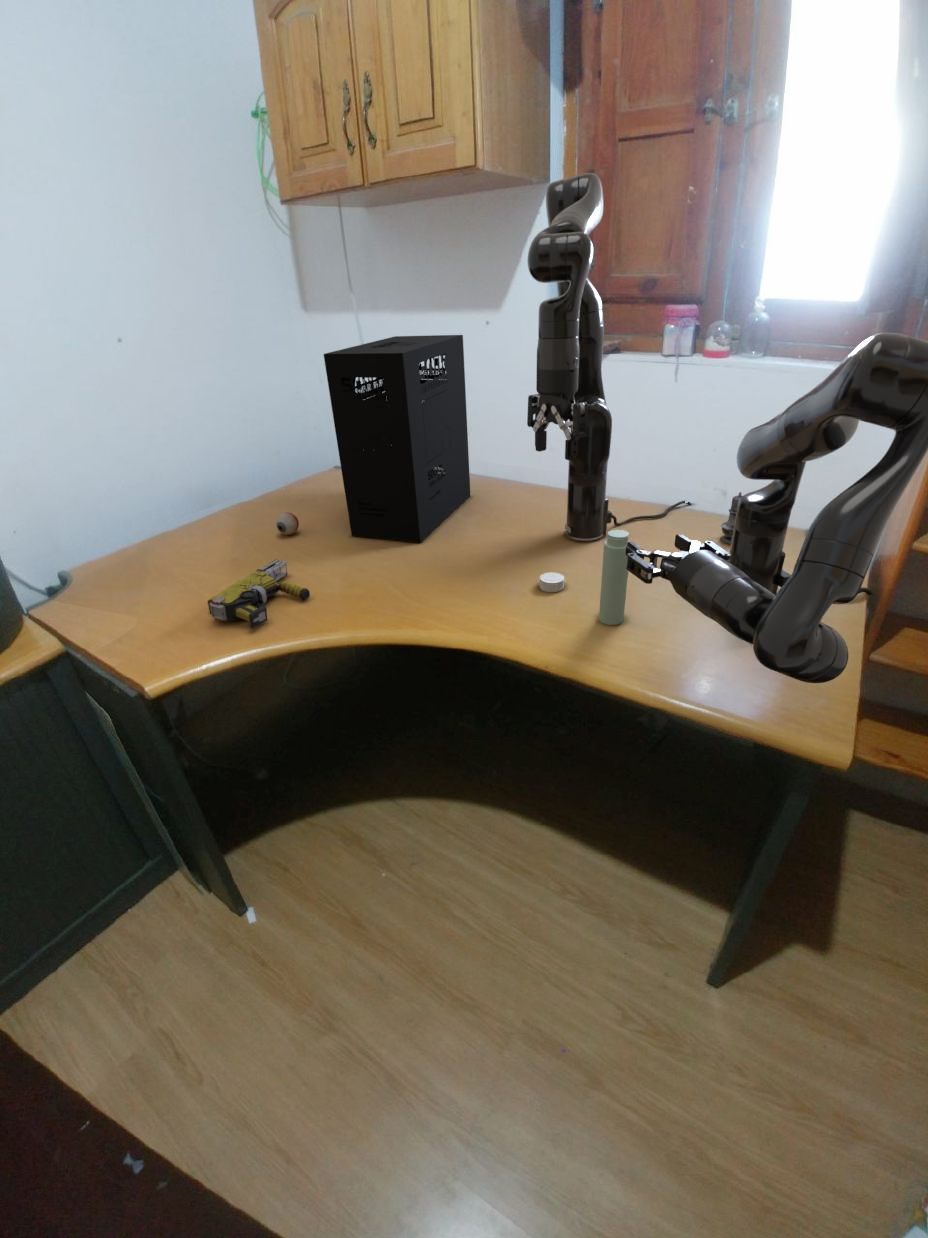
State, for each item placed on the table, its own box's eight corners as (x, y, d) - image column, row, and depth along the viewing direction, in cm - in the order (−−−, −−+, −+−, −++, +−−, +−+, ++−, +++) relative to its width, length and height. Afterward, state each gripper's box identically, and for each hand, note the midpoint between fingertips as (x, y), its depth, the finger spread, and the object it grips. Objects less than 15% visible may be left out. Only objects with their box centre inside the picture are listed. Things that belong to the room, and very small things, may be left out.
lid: (549, 579, 134) (549, 570, 133) (568, 585, 130) (569, 576, 129) (534, 587, 130) (534, 578, 129) (554, 594, 127) (554, 585, 126)
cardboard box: (410, 491, 192) (395, 336, 169) (470, 495, 185) (462, 334, 162) (351, 535, 161) (323, 353, 139) (420, 542, 155) (402, 352, 132)
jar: (608, 627, 115) (615, 540, 106) (594, 616, 118) (599, 531, 109) (628, 621, 116) (637, 534, 107) (613, 610, 120) (620, 526, 111)
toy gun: (329, 568, 137) (273, 556, 141) (266, 615, 117) (202, 599, 121) (331, 586, 139) (275, 574, 143) (268, 635, 119) (205, 620, 123)
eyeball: (273, 537, 164) (268, 516, 161) (287, 528, 169) (282, 508, 166) (291, 539, 161) (286, 518, 158) (305, 530, 166) (301, 510, 163)
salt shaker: (746, 544, 143) (756, 496, 137) (720, 544, 145) (729, 495, 139) (742, 535, 148) (751, 488, 142) (716, 534, 150) (724, 487, 144)
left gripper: (516, 363, 112) (517, 451, 120) (569, 370, 101) (565, 466, 109) (547, 359, 115) (546, 444, 123) (601, 365, 105) (596, 458, 113)
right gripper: (763, 553, 83) (695, 515, 96) (670, 569, 80) (613, 527, 93) (753, 602, 86) (689, 558, 100) (663, 618, 84) (610, 571, 97)
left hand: (555, 454), depth 116 cm, fingers open, 8 cm apart
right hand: (652, 543), depth 97 cm, fingers open, 8 cm apart
